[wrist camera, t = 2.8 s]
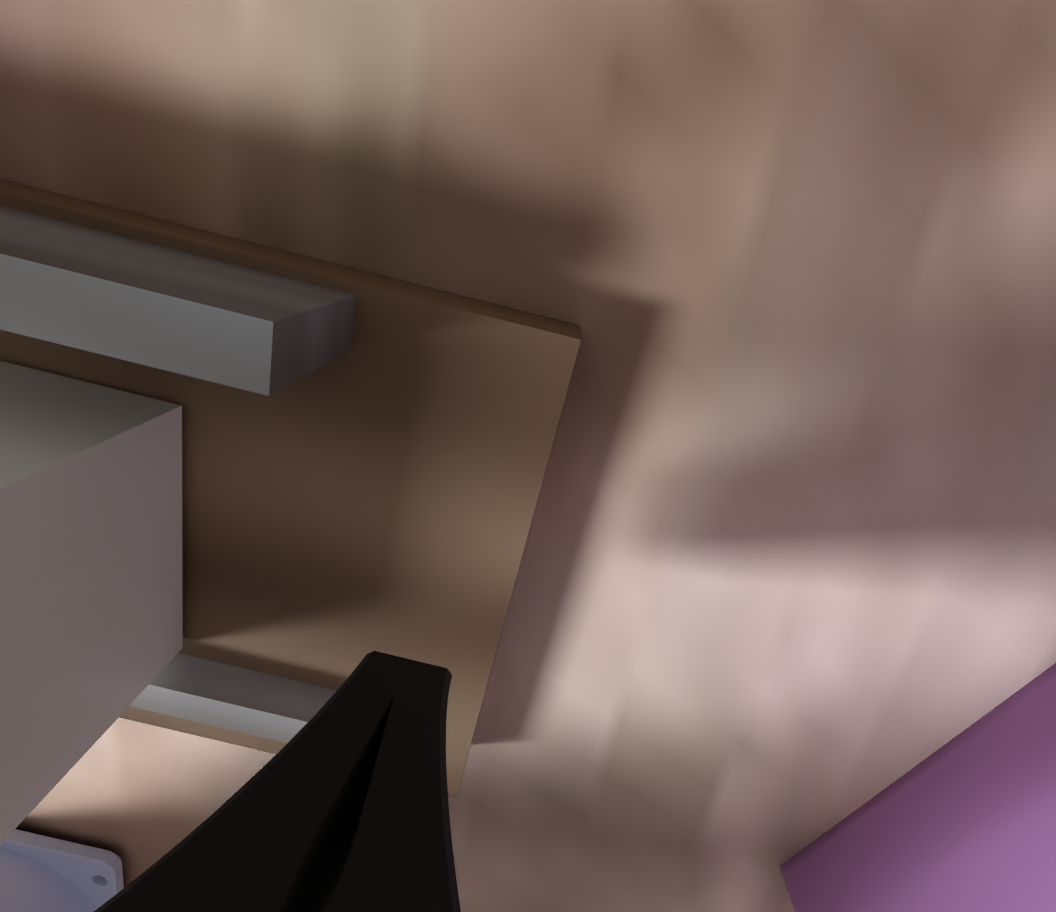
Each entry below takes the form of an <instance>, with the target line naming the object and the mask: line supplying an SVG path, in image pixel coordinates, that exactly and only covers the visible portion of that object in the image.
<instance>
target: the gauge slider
mask: <svg viewBox="0 0 1056 912" xmlns="http://www.w3.org/2000/svg"><path fill="white" fill-rule="evenodd" d="M182 648H183V611H182V406H181V405H177V404H173V403H169V402H165V401H161V400H157V399H153V398H149V397H145V396H141V395H137V394H133V393H129V392H125V391H121V390H117V389H112V388H108V387H104V386H100V385H96V384H92V383H88V382H84V381H80V380H76V379H72V378H68V377H64V376H60V375H56V374H52V373H48V372H44V371H39V370H35V369H31V368H27V367H23V366H19V365H15V364H11V363H7V362H3V361H0V845H1V844H2V843H3V842H4V840H5V839H6V838H7V837H8V836H9V835H10V834H11V833H12V832H13V831H14V830H15V829H16V827H17V826H18V825H19V824H20V823H21V822H22V821H23V820H24V819H25V818H26V817H27V816H28V815H29V813H30V812H31V811H32V810H33V809H34V808H35V807H36V806H37V805H38V804H39V803H40V802H41V800H42V799H43V798H44V797H45V796H46V795H47V794H48V793H49V792H50V791H51V790H52V789H53V788H54V786H55V785H56V784H57V783H58V782H59V781H60V780H61V779H62V778H63V777H64V776H65V775H66V773H67V772H68V771H69V770H70V769H71V768H72V767H73V766H74V765H75V764H76V763H77V762H78V761H79V759H80V758H81V757H82V756H83V755H84V754H85V753H86V752H87V751H88V750H89V749H90V748H91V746H92V745H93V744H94V743H95V742H96V741H97V740H98V739H99V738H100V737H101V736H102V735H103V733H104V732H105V731H106V730H107V729H108V728H109V727H110V726H111V725H112V724H113V723H114V722H115V721H116V719H117V718H118V717H119V716H120V715H121V714H122V713H123V712H124V711H125V710H126V709H127V708H128V706H129V705H130V704H131V703H132V702H133V701H134V700H135V699H136V698H137V697H138V696H139V695H140V694H141V692H142V691H143V690H144V689H145V688H146V687H147V686H148V685H149V684H150V683H151V682H152V681H153V679H154V678H155V677H156V676H157V675H158V674H159V673H160V672H161V671H162V670H163V669H164V668H165V667H166V665H167V664H168V663H169V662H170V661H171V660H172V659H173V658H174V657H175V656H176V655H177V654H178V652H179V651H180V650H181V649H182Z"/></svg>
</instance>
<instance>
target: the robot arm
mask: <svg viewBox="0 0 1056 912" xmlns="http://www.w3.org/2000/svg"><path fill="white" fill-rule="evenodd" d="M451 679H452V674H451V673H450V672H449V670H448V669H447V668H444V667H440V666H436V665H432V664H428V663H424V662H419V661H415V660H411V659H407V658H403V657H399V656H394V655H390V654H386V653H382V652H378V651H372V652H370V653H368V654H366V655H365V657H364V658H363V659H362V661H361V662H360V663H359V665H358V666H357V667H356V668H355V670H354V671H353V672H352V673H351V675H350V676H349V677H348V678H347V679H346V681H345V682H344V683H343V684H342V685H341V687H340V688H339V689H338V690H337V691H336V692H335V693H334V695H333V696H332V697H331V698H330V699H329V700H328V701H327V702H326V703H325V704H324V706H323V707H322V708H321V709H320V710H319V711H318V712H317V713H316V714H315V715H314V716H313V718H312V719H311V720H310V721H309V722H308V723H307V724H306V725H305V726H304V727H303V728H302V729H301V730H300V731H299V732H298V733H297V734H296V735H295V736H294V737H293V738H292V739H291V740H290V741H289V742H288V743H287V744H286V745H285V746H284V747H283V748H282V749H281V750H280V751H279V752H278V753H277V754H276V755H275V756H274V757H273V758H272V759H271V760H270V761H269V762H268V763H267V764H266V765H265V766H264V767H263V768H262V769H261V770H260V771H259V772H258V773H256V774H255V775H254V776H253V777H252V778H251V779H250V780H249V781H248V782H247V783H246V784H245V785H244V786H242V787H241V788H240V789H239V790H238V791H237V792H236V793H235V794H234V795H233V796H232V797H231V798H230V799H229V800H227V801H226V802H225V803H224V804H223V805H222V806H221V807H220V808H219V809H218V810H217V811H215V812H214V813H213V814H212V815H211V816H210V817H209V818H208V819H206V820H205V821H204V822H203V823H202V824H201V825H200V826H198V827H197V828H196V829H195V830H194V831H193V832H191V833H190V834H189V835H188V836H187V837H186V838H184V839H183V840H182V841H181V842H180V843H179V844H177V845H176V846H175V847H174V848H173V849H172V850H170V851H169V852H168V853H167V854H165V855H164V856H163V857H162V858H161V859H159V860H158V861H157V862H156V863H154V864H153V865H152V866H151V867H150V868H148V869H147V870H146V871H145V872H144V873H142V874H141V875H140V876H139V877H137V878H136V879H135V880H134V881H132V882H131V883H130V884H129V885H127V886H126V887H125V888H124V885H123V871H122V861H121V859H120V857H119V856H118V855H117V854H115V853H114V852H111V851H109V850H105V849H100V848H96V847H92V846H87V845H83V844H79V843H74V842H70V841H65V840H61V839H57V838H52V837H48V836H44V835H39V834H35V833H31V832H26V831H22V830H18V829H15V830H14V831H13V832H12V833H11V834H10V835H9V836H8V837H7V838H6V839H5V840H4V842H3V843H2V844H1V845H0V912H461V910H460V903H459V897H458V889H457V882H456V874H455V866H454V857H453V848H452V839H451V829H450V818H449V805H448V787H447V769H446V719H447V704H448V695H449V688H450V683H451Z"/></svg>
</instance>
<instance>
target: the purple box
mask: <svg viewBox="0 0 1056 912" xmlns="http://www.w3.org/2000/svg"><path fill="white" fill-rule="evenodd" d="M780 867H781V870H782V873H783V876H784V879H785V882H786V885H787V888H788V892H789V895H790V898H791V901H792V904H793V907H794V910H795V912H1056V663H1055V664H1054V665H1052V666H1051V667H1050V668H1048V669H1047V670H1046V671H1044V672H1043V673H1042V674H1040V675H1039V676H1038V677H1036V678H1035V679H1033V680H1032V681H1031V682H1029V683H1028V684H1027V685H1025V686H1024V687H1023V688H1021V689H1020V690H1019V691H1017V692H1016V693H1014V694H1013V695H1012V696H1010V697H1009V698H1008V699H1006V700H1005V701H1004V702H1002V703H1001V704H1000V705H998V706H997V707H995V708H994V709H993V710H991V711H990V712H989V713H987V714H986V715H985V716H983V717H982V718H981V719H979V720H978V721H976V722H975V723H974V724H972V725H971V726H970V727H968V728H967V729H966V730H964V731H963V732H962V733H960V734H959V735H957V736H956V737H955V738H953V739H952V740H951V741H949V742H948V743H947V744H945V745H944V746H943V747H941V748H940V749H938V750H937V751H936V752H934V753H933V754H932V755H930V756H929V757H928V758H926V759H925V760H924V761H922V762H921V763H919V764H918V765H917V766H915V767H914V768H913V769H911V770H910V771H909V772H907V773H906V774H905V775H903V776H902V777H900V778H899V779H898V780H896V781H895V782H894V783H892V784H891V785H890V786H888V787H887V788H885V789H884V790H883V791H881V792H880V793H879V794H877V795H876V796H875V797H873V798H872V799H871V800H869V801H868V802H866V803H865V804H864V805H862V806H861V807H860V808H858V809H857V810H856V811H854V812H853V813H852V814H850V815H849V816H847V817H846V818H845V819H843V820H842V821H841V822H839V823H838V824H837V825H835V826H834V827H833V828H831V829H830V830H828V831H827V832H826V833H824V834H823V835H822V836H820V837H819V838H818V839H816V840H815V841H814V842H812V843H811V844H809V845H808V846H807V847H805V848H804V849H803V850H801V851H800V852H799V853H797V854H796V855H795V856H793V857H792V858H790V859H789V860H788V861H786V862H785V863H784V864H782V865H781V866H780Z"/></svg>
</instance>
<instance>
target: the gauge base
mask: <svg viewBox="0 0 1056 912" xmlns="http://www.w3.org/2000/svg"><path fill="white" fill-rule="evenodd" d="M580 343H581V330H580V326H578V325H574V324H570V323H566V322H562V321H558V320H554V319H550V318H546V317H542V316H538V315H534V314H530V313H527V312H523V311H519V310H515V309H511V308H507V307H503V306H499V305H495V304H491V303H487V302H483V301H479V300H475V299H471V298H467V297H463V296H459V295H455V294H451V293H448V292H444V291H440V290H436V289H432V288H428V287H424V286H420V285H416V284H412V283H408V282H404V281H400V280H396V279H392V278H388V277H384V276H380V275H376V274H372V273H369V272H365V271H361V270H357V269H353V268H349V267H345V266H341V265H337V264H333V263H329V262H325V261H321V260H317V259H313V258H309V257H305V256H301V255H297V254H294V253H290V252H286V251H282V250H278V249H274V248H270V247H266V246H262V245H258V244H254V243H250V242H246V241H242V240H238V239H234V238H230V237H226V236H222V235H218V234H215V233H211V232H207V231H203V230H199V229H195V228H191V227H187V226H183V225H179V224H175V223H171V222H167V221H163V220H159V219H155V218H151V217H147V216H143V215H139V214H136V213H132V212H128V211H124V210H120V209H116V208H112V207H108V206H104V205H100V204H96V203H92V202H88V201H84V200H80V199H76V198H72V197H68V196H64V195H60V194H57V193H53V192H49V191H45V190H41V189H37V188H33V187H29V186H25V185H21V184H17V183H13V182H9V181H5V180H1V179H0V361H3V362H7V363H11V364H15V365H19V366H23V367H27V368H31V369H35V370H39V371H44V372H48V373H52V374H56V375H60V376H64V377H68V378H72V379H76V380H80V381H84V382H88V383H92V384H96V385H100V386H104V387H108V388H112V389H117V390H121V391H125V392H129V393H133V394H137V395H141V396H145V397H149V398H153V399H157V400H161V401H165V402H169V403H173V404H177V405H181V406H182V611H183V648H182V649H181V650H180V651H179V652H178V654H177V655H176V656H175V657H174V658H173V659H172V660H171V661H170V662H169V663H168V664H167V665H166V667H165V668H164V669H163V670H162V671H161V672H160V673H159V674H158V675H157V676H156V677H155V678H154V679H153V681H152V682H151V683H150V684H149V685H148V686H147V687H146V688H145V689H144V690H143V691H142V692H141V694H140V695H139V696H138V697H137V698H136V699H135V700H134V701H133V702H132V703H131V704H130V705H129V706H128V708H127V709H126V710H125V711H124V712H123V713H122V714H121V715H120V716H119V717H120V718H125V719H129V720H133V721H137V722H142V723H146V724H150V725H155V726H159V727H163V728H167V729H172V730H176V731H180V732H184V733H189V734H193V735H197V736H201V737H206V738H210V739H214V740H218V741H223V742H227V743H231V744H236V745H240V746H244V747H248V748H253V749H257V750H261V751H265V752H270V753H274V754H277V753H278V752H279V751H280V750H281V749H282V748H283V747H284V746H285V745H286V744H287V743H288V742H289V741H290V740H291V739H292V738H293V737H294V736H295V735H296V734H297V733H298V732H299V731H300V730H301V729H302V728H303V727H304V726H305V725H306V724H307V723H308V722H309V721H310V720H311V719H312V718H313V716H314V715H315V714H316V713H317V712H318V711H319V710H320V709H321V708H322V707H323V706H324V704H325V703H326V702H327V701H328V700H329V699H330V698H331V697H332V696H333V695H334V693H335V692H336V691H337V690H338V689H339V688H340V687H341V685H342V684H343V683H344V682H345V681H346V679H347V678H348V677H349V676H350V675H351V673H352V672H353V671H354V670H355V668H356V667H357V666H358V665H359V663H360V662H361V661H362V659H363V658H364V657H365V655H366V654H368V653H370V652H372V651H378V652H382V653H386V654H390V655H394V656H399V657H403V658H407V659H411V660H415V661H419V662H424V663H428V664H432V665H436V666H440V667H444V668H447V669H448V670H449V672H450V673H451V674H452V679H451V683H450V688H449V695H448V704H447V719H446V769H447V787H448V794H449V795H453V796H457V793H458V789H459V786H460V782H461V778H462V775H463V771H464V768H465V764H466V760H467V757H468V753H469V749H470V746H471V742H472V738H473V735H474V731H475V727H476V724H477V720H478V716H479V713H480V709H481V705H482V702H483V698H484V694H485V691H486V687H487V683H488V680H489V676H490V672H491V669H492V665H493V661H494V658H495V654H496V650H497V647H498V643H499V639H500V636H501V632H502V628H503V625H504V621H505V617H506V614H507V610H508V606H509V603H510V599H511V595H512V592H513V588H514V584H515V581H516V577H517V573H518V570H519V566H520V562H521V559H522V555H523V551H524V548H525V544H526V540H527V537H528V533H529V529H530V526H531V522H532V518H533V515H534V511H535V507H536V504H537V500H538V496H539V493H540V489H541V486H542V482H543V478H544V475H545V471H546V467H547V464H548V460H549V456H550V453H551V449H552V445H553V442H554V438H555V434H556V431H557V427H558V423H559V420H560V416H561V412H562V409H563V405H564V401H565V398H566V394H567V390H568V387H569V383H570V379H571V376H572V372H573V368H574V365H575V361H576V357H577V354H578V350H579V346H580Z"/></svg>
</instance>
